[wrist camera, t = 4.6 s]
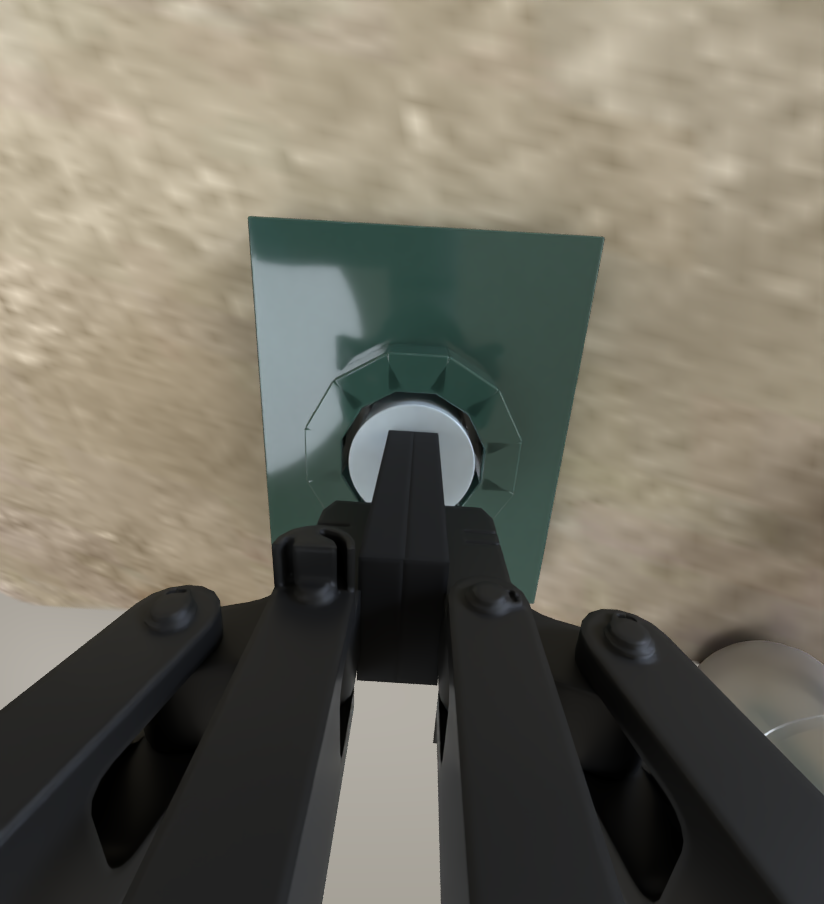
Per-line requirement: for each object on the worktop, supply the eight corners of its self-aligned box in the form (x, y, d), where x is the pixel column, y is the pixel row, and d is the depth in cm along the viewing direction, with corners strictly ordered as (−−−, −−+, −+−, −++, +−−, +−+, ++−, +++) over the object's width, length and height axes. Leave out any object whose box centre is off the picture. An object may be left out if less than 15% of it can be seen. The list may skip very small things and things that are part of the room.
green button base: (268, 223, 15) (218, 205, 12) (583, 241, 15) (635, 229, 12) (287, 560, 21) (257, 622, 17) (524, 574, 20) (546, 640, 17)
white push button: (357, 385, 15) (347, 400, 13) (474, 392, 15) (482, 408, 13) (356, 490, 17) (347, 517, 15) (463, 496, 17) (468, 525, 15)
